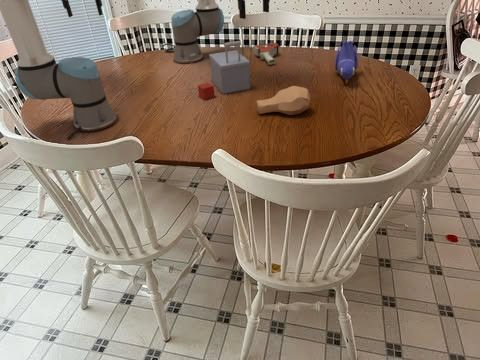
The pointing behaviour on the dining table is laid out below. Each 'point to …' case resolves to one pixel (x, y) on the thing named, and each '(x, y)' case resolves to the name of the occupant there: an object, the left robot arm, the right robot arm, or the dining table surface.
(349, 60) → the toy
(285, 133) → the dining table surface
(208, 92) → the block
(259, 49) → the tape dispenser
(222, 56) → the lid
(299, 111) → the squash
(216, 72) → the chest
